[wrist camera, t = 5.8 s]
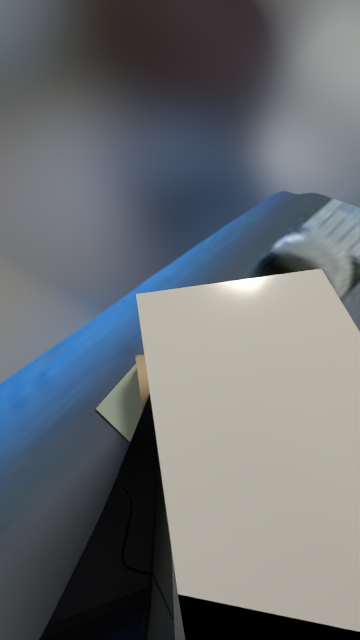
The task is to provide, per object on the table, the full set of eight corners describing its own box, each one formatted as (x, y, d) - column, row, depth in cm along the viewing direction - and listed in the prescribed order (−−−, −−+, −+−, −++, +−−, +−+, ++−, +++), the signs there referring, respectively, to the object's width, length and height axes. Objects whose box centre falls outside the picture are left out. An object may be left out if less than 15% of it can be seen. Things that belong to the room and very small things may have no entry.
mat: (196, 505, 17) (196, 506, 17) (96, 408, 19) (95, 408, 19) (267, 380, 21) (268, 380, 21) (180, 313, 24) (180, 313, 23)
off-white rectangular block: (225, 446, 13) (619, 758, 2) (171, 462, 13) (245, 1072, 1) (204, 364, 15) (320, 268, 4) (157, 374, 15) (136, 294, 3)
